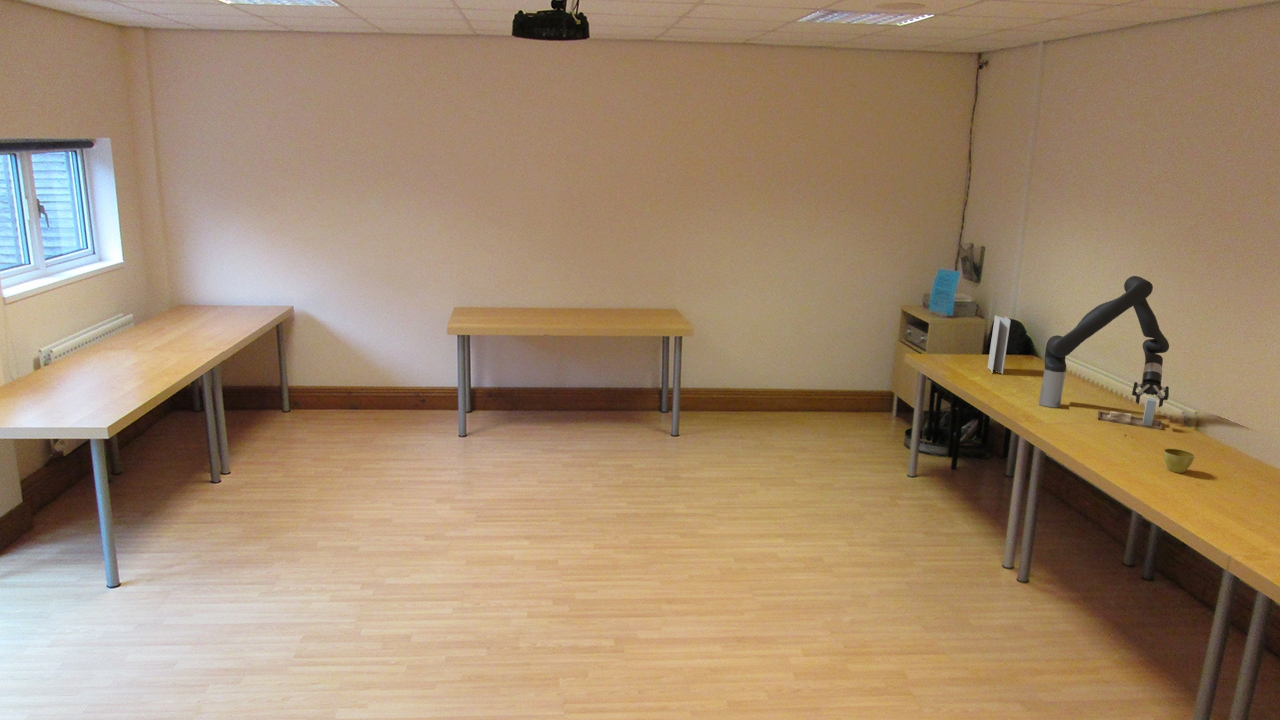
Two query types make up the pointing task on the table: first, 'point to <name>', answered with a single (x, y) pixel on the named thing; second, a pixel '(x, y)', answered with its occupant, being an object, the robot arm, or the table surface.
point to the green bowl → (1178, 460)
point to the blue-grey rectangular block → (1149, 411)
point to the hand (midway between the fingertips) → (1149, 404)
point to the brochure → (999, 344)
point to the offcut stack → (1119, 416)
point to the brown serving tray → (1134, 421)
